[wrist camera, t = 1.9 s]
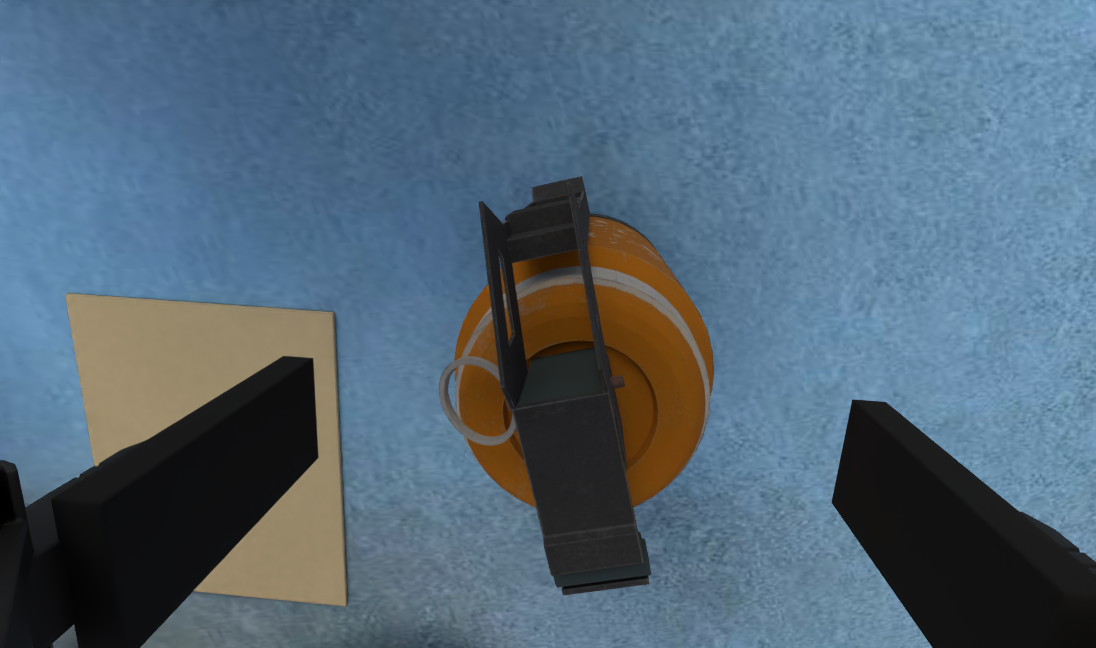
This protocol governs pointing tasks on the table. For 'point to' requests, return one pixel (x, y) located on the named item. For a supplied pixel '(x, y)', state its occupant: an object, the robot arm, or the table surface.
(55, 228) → the table surface
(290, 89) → the table surface
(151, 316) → the mat
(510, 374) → the canister
